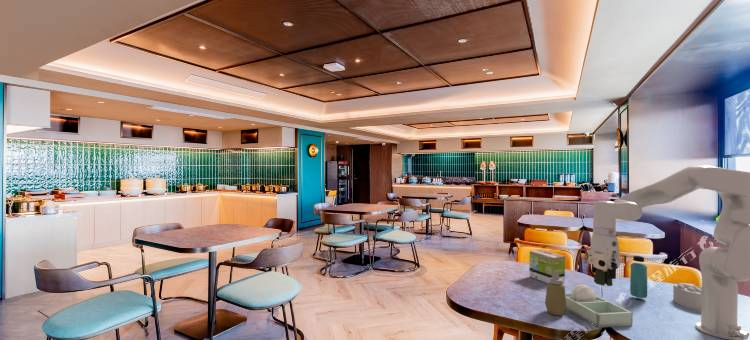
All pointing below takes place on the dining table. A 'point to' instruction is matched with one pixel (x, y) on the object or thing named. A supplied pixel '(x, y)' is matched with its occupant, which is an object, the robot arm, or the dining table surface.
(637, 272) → the beverage bottle
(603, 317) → the dish rack
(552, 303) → the squeeze bottle
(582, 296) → the racked plates
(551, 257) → the tea box
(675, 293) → the lumpy-topped squat cylinder
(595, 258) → the character mug
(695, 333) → the dining table surface
